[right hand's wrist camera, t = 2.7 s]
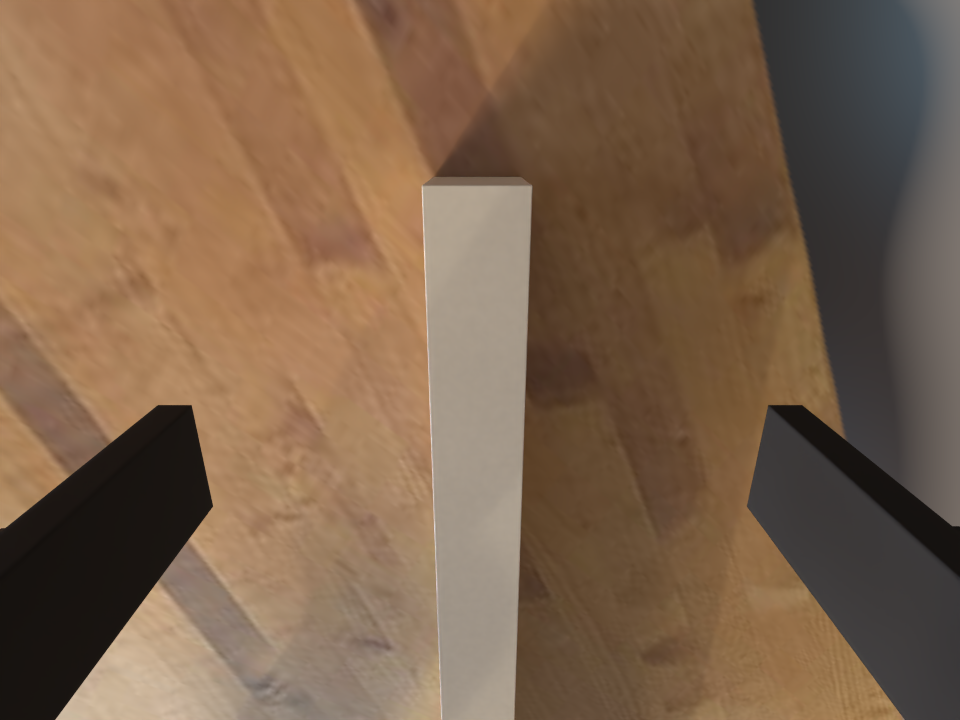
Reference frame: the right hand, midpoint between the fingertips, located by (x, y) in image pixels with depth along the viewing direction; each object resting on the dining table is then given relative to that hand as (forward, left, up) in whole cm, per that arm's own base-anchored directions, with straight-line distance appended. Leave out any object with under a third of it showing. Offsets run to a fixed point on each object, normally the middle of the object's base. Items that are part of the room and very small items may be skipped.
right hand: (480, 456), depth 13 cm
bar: (-3, -31, -25) cm, 40 cm away
